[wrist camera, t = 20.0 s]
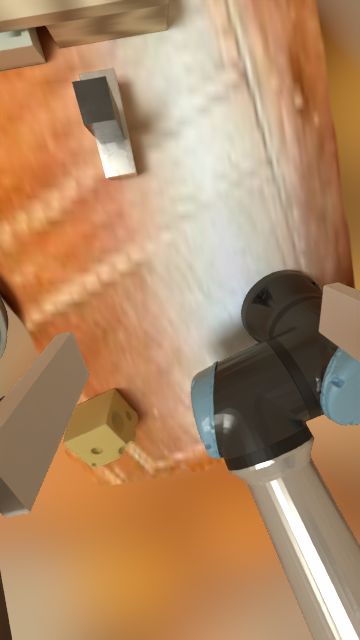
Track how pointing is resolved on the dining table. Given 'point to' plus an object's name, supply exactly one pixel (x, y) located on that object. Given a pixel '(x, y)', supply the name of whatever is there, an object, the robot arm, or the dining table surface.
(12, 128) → the dining table surface
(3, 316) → the cake pan
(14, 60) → the box
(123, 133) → the scraper
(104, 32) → the ledge
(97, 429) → the cheese
